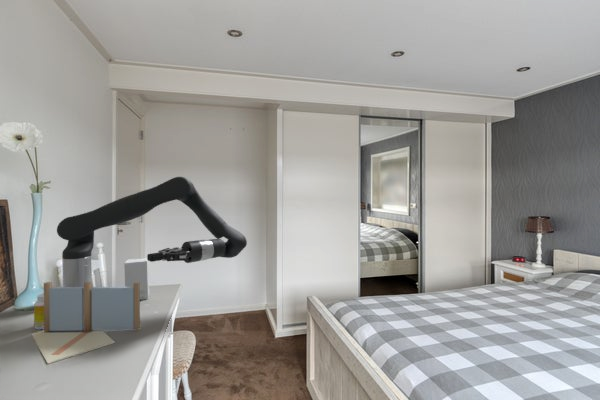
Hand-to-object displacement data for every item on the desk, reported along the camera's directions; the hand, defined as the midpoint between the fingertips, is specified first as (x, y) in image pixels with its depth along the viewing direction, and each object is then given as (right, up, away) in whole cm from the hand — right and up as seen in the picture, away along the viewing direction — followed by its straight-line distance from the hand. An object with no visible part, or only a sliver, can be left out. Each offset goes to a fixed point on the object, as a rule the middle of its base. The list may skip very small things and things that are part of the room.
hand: (149, 258), depth 100 cm
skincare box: (-17, -21, +26) cm, 37 cm away
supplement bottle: (-32, -22, -1) cm, 39 cm away
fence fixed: (-23, -22, -5) cm, 32 cm away
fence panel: (-8, -21, -4) cm, 23 cm away
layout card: (-18, -22, -9) cm, 30 cm away
